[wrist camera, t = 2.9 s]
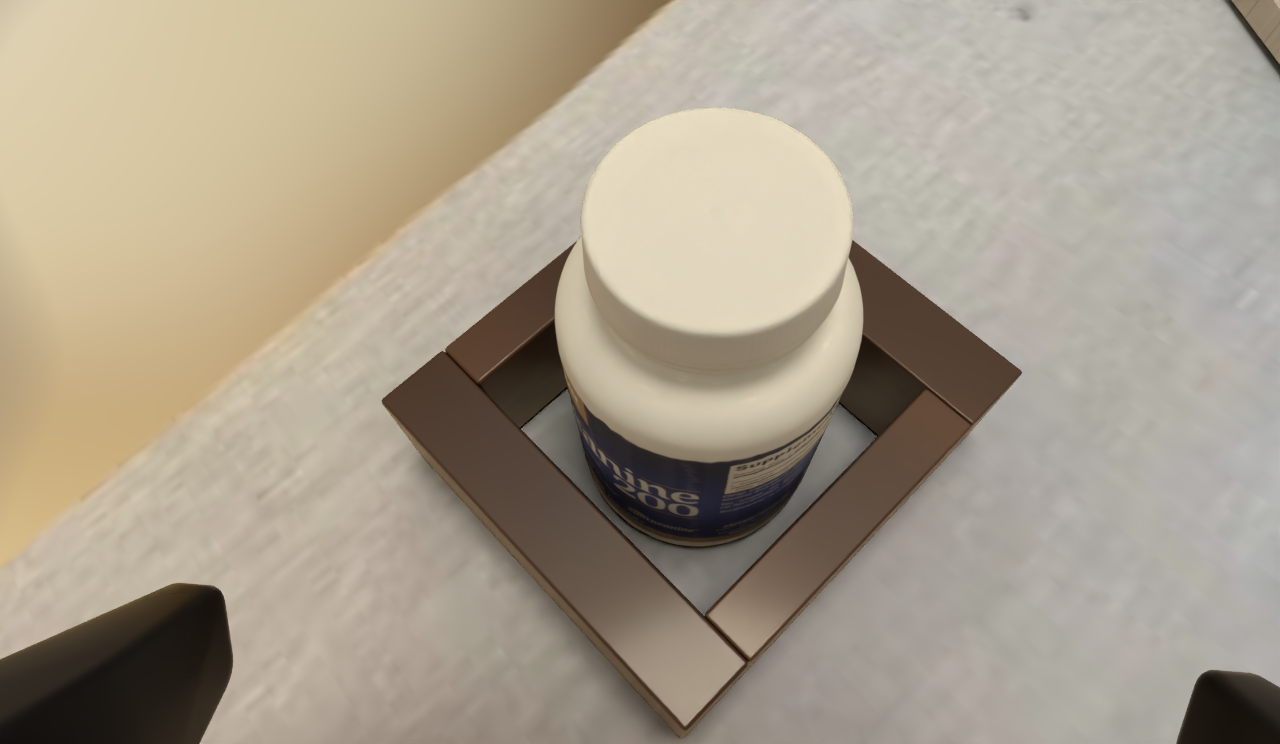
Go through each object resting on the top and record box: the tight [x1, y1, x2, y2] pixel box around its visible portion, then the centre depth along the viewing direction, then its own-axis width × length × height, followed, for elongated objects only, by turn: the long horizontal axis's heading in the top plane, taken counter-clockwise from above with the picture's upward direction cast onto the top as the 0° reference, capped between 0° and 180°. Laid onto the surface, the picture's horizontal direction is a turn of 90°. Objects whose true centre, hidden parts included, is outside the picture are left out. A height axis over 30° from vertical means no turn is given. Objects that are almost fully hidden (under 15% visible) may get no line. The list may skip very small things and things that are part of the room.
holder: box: [382, 240, 1022, 738], centre depth 20 cm, size 10×9×4 cm
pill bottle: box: [555, 107, 863, 546], centre depth 17 cm, size 5×5×10 cm
